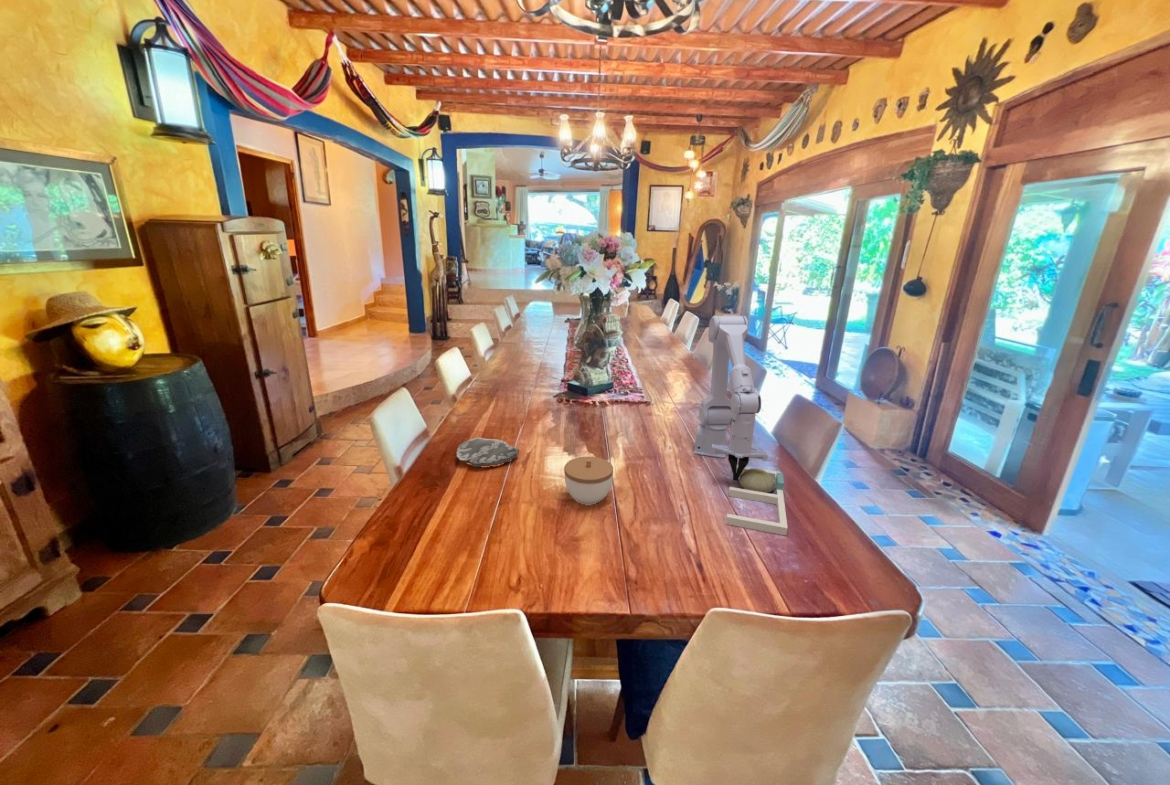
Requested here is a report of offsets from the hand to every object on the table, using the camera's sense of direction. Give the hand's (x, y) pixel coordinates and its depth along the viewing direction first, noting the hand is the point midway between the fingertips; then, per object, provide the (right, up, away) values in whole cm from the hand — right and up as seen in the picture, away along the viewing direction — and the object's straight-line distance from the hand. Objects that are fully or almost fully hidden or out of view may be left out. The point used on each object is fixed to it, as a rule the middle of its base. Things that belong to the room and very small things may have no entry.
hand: (735, 479), depth 130 cm
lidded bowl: (-41, -4, -7) cm, 42 cm away
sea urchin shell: (+5, -2, -1) cm, 6 cm away
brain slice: (-73, +3, +14) cm, 74 cm away
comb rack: (+3, -4, -7) cm, 9 cm away
